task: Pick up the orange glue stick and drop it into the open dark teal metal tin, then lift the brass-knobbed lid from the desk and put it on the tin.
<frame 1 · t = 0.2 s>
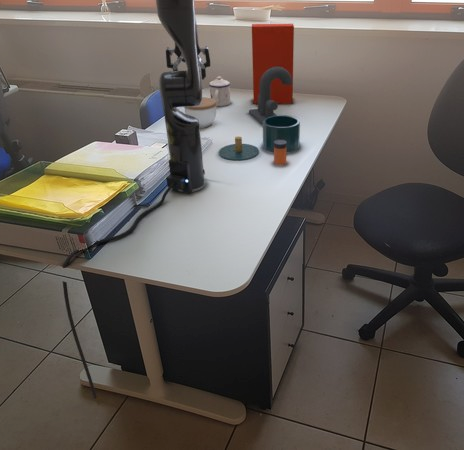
hand: (190, 79, 157), 22 cm above the table, tool pointing down, fingers open, 8 cm apart
tin lid: (238, 152, 158), point 1 cm above the table
file binder: (272, 101, 210), on the table
teacup with lid: (220, 104, 206), on the table
glue stick: (280, 163, 151), on the table
tin: (281, 147, 163), on the table
lidded bowl: (201, 125, 184), on the table
faucet: (274, 117, 191), on the table
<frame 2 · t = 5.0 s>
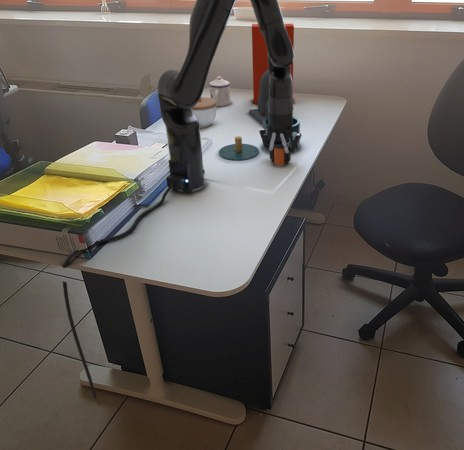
hand: (280, 161, 151), 1 cm above the table, tool pointing down, fingers closed on glue stick, 4 cm apart
glue stick: (280, 163, 151), on the table, touching gripper
everything else where it was.
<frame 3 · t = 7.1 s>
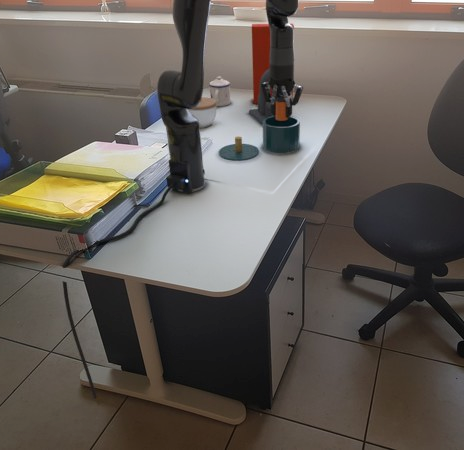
hand: (281, 116, 151), 13 cm above the table, tool pointing down, fingers closed on glue stick, 4 cm apart
glue stick: (281, 118, 151), point 13 cm above the table, touching gripper
everything else where it was.
when the fingers open (9 cm above the table, at t = 9.4 s): glue stick drops 8 cm, resting on tin.
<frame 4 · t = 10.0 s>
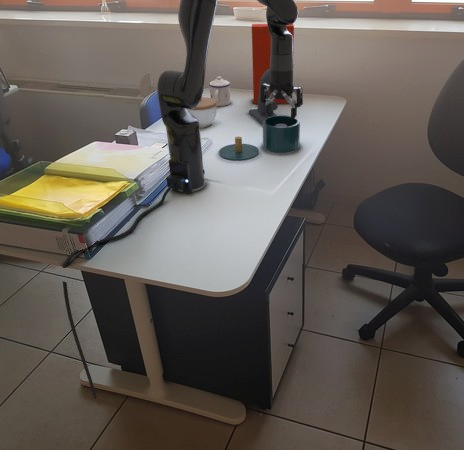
hand: (281, 116, 157), 11 cm above the table, tool pointing down, fingers open, 8 cm apart
glue stick: (280, 146, 163), resting on tin
everything else where it was.
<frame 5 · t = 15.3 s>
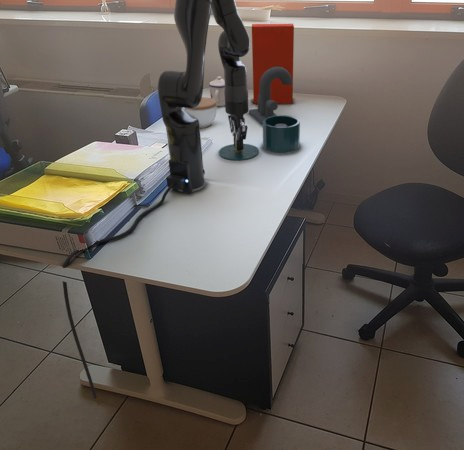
hand: (238, 148, 157), 2 cm above the table, tool pointing down, fingers closed on tin lid, 2 cm apart
tin lid: (238, 152, 158), point 1 cm above the table, touching gripper
everything else where it was.
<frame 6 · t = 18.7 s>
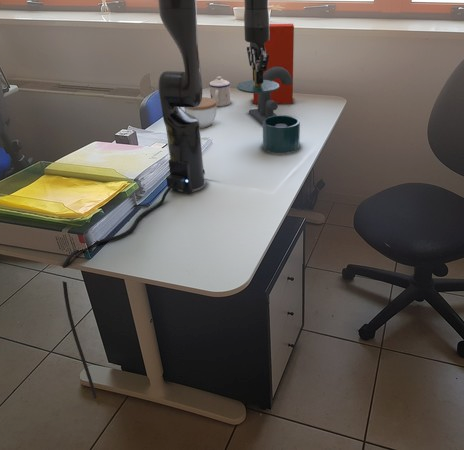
hand: (258, 82, 149), 23 cm above the table, tool pointing down, fingers closed on tin lid, 2 cm apart
tin lid: (258, 87, 150), point 22 cm above the table, touching gripper
everything else where it was.
when the fingers open (11 cm above the table, at t = 22.5 s): tin lid stays where it is, resting on tin.
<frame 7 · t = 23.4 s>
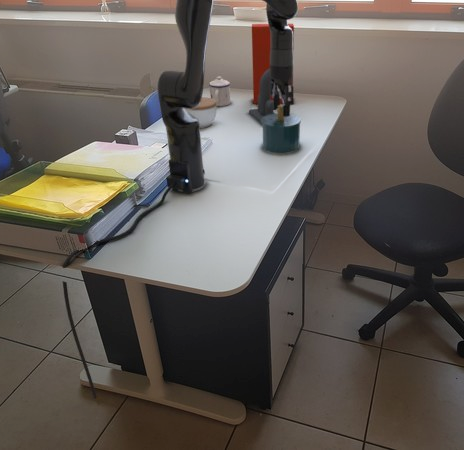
hand: (281, 112, 157), 13 cm above the table, tool pointing down, fingers open, 8 cm apart
tin lid: (281, 121, 158), point 9 cm above the table, touching tin
everything else where it was.
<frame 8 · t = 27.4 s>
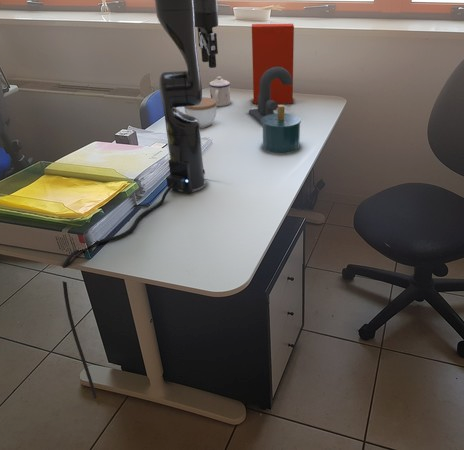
hand: (209, 64, 150), 28 cm above the table, tool pointing down, fingers open, 8 cm apart
nothing on the table moved.
at the end: glue stick inside the target area in the tin (0.0 cm from its centre), point 0.5 cm above the tin's base; tin lid 0.1 cm off-centre on the tin, point 9.5 cm above the tin's base; tin lid tilted 0° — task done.
